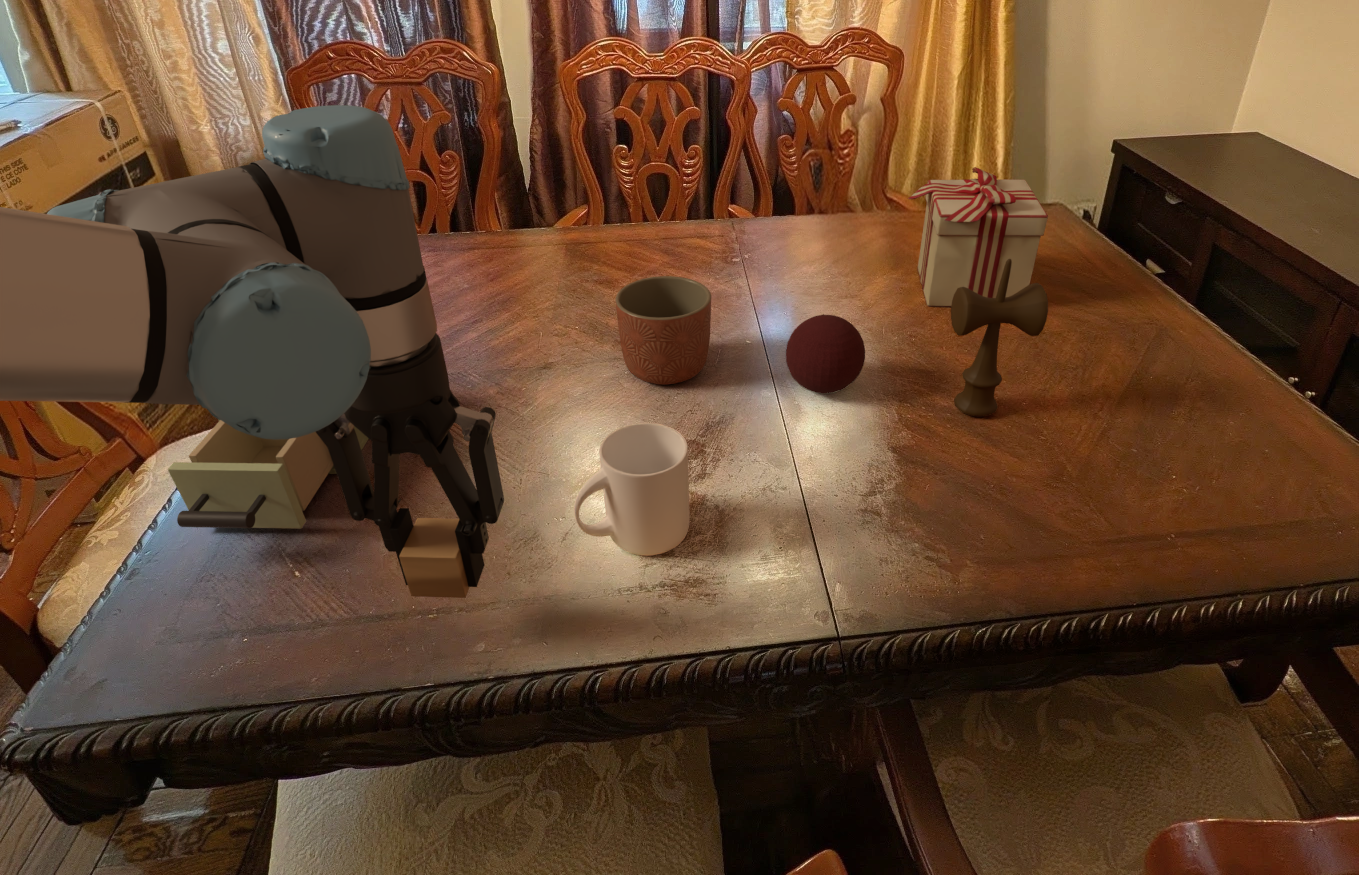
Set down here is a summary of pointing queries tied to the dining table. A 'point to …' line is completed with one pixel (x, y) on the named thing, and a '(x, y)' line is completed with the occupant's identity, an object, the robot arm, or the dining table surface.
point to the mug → (641, 489)
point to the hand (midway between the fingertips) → (445, 574)
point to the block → (434, 560)
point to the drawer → (250, 480)
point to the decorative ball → (825, 354)
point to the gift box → (977, 236)
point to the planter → (664, 328)
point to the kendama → (993, 335)
